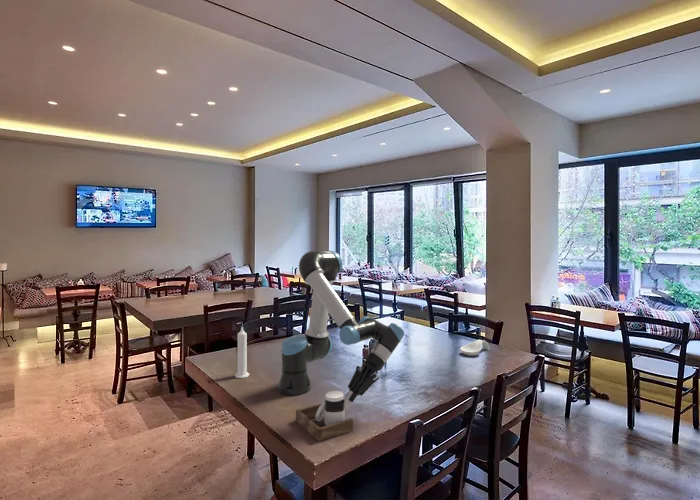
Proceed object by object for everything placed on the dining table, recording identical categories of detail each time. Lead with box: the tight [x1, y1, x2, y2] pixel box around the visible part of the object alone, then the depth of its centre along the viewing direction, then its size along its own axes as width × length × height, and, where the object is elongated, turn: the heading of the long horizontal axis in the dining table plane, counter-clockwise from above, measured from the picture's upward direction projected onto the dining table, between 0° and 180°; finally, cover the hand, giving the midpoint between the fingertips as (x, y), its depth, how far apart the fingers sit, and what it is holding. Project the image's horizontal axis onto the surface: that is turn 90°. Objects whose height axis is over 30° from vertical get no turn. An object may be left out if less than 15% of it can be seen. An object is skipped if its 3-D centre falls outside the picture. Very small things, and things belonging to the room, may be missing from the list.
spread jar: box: [314, 390, 346, 426], centre depth 149 cm, size 12×11×12 cm
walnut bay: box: [295, 403, 354, 442], centre depth 148 cm, size 18×14×4 cm
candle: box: [234, 326, 250, 379], centre depth 200 cm, size 7×7×25 cm
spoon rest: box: [459, 339, 490, 357], centre depth 244 cm, size 24×12×7 cm, turn 131°
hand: (343, 407), depth 153 cm, fingers closed
